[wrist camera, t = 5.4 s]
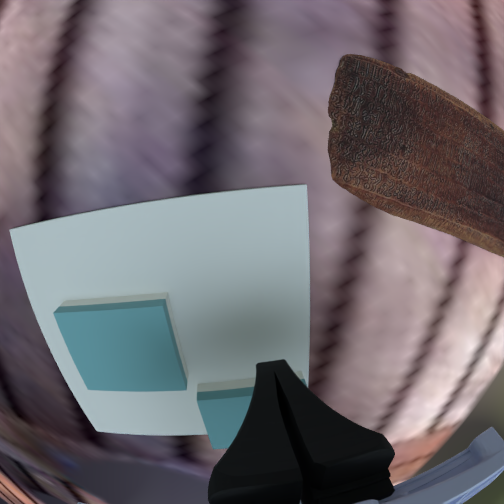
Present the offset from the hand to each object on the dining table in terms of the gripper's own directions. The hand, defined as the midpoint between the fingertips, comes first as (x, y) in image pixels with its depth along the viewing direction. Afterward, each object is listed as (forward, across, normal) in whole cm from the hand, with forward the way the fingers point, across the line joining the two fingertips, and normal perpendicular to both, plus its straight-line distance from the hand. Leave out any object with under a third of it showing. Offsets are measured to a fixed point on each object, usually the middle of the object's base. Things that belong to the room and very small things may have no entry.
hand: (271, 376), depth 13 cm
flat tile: (+4, +1, +7) cm, 8 cm away
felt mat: (+5, +6, +1) cm, 8 cm away
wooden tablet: (+6, -17, -8) cm, 20 cm away
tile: (+3, +5, 0) cm, 6 cm away
